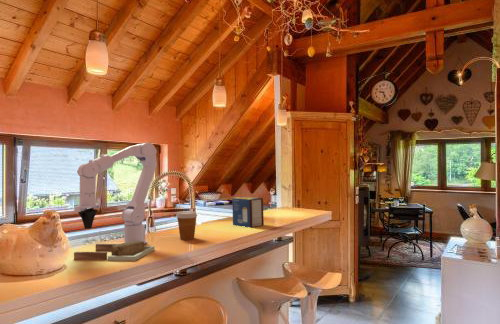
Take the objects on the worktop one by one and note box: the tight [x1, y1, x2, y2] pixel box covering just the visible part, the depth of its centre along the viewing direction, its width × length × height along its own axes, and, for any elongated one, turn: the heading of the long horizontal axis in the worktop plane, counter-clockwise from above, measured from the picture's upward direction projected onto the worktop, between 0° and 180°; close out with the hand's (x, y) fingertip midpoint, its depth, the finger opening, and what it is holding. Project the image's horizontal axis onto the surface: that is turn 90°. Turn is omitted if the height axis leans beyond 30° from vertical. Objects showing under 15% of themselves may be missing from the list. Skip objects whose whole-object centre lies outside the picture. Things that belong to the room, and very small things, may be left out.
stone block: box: [111, 241, 145, 256], centre depth 134 cm, size 6×12×5 cm, turn 142°
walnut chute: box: [73, 243, 118, 261], centre depth 136 cm, size 15×12×2 cm
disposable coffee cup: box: [176, 211, 198, 241], centre depth 165 cm, size 10×10×12 cm
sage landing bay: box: [107, 245, 156, 262], centre depth 135 cm, size 17×10×2 cm, turn 173°
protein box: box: [231, 196, 265, 228], centre depth 202 cm, size 10×15×16 cm
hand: (88, 228), depth 140 cm, fingers closed
